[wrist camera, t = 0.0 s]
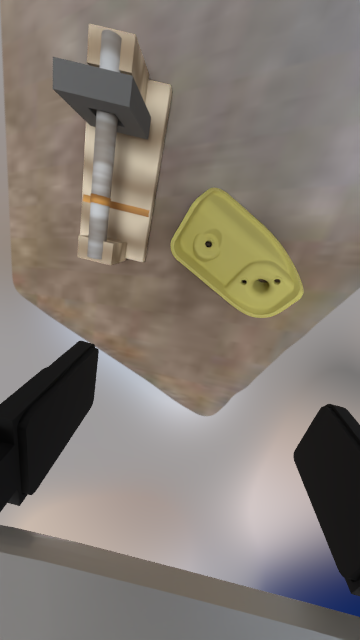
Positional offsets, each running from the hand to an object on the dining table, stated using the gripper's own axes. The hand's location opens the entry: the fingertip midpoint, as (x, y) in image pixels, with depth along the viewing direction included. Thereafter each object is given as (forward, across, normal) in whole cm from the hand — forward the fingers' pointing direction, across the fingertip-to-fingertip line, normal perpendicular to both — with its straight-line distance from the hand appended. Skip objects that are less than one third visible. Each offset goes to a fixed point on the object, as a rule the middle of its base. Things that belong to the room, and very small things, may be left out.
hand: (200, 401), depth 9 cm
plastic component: (+32, -4, -4) cm, 32 cm away
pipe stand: (+31, +16, -12) cm, 37 cm away
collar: (+28, +16, -17) cm, 37 cm away
